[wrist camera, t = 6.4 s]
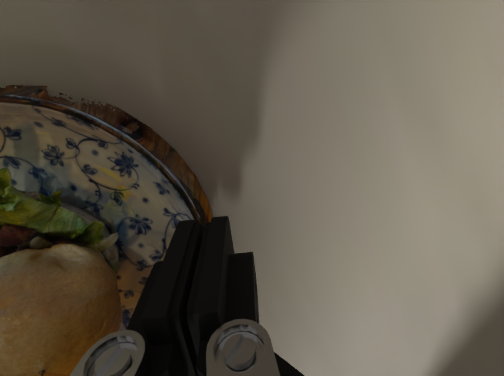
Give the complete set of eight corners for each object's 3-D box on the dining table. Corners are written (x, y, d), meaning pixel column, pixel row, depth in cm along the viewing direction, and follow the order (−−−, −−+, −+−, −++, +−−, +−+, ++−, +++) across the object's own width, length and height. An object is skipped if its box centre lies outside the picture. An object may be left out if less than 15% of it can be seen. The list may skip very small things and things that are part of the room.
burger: (-63, 11, 9) (-1176, -148, 2) (267, 181, 11) (302, 367, 5) (-87, 277, 13) (-450, 521, 6) (157, 354, 16) (91, 581, 9)
